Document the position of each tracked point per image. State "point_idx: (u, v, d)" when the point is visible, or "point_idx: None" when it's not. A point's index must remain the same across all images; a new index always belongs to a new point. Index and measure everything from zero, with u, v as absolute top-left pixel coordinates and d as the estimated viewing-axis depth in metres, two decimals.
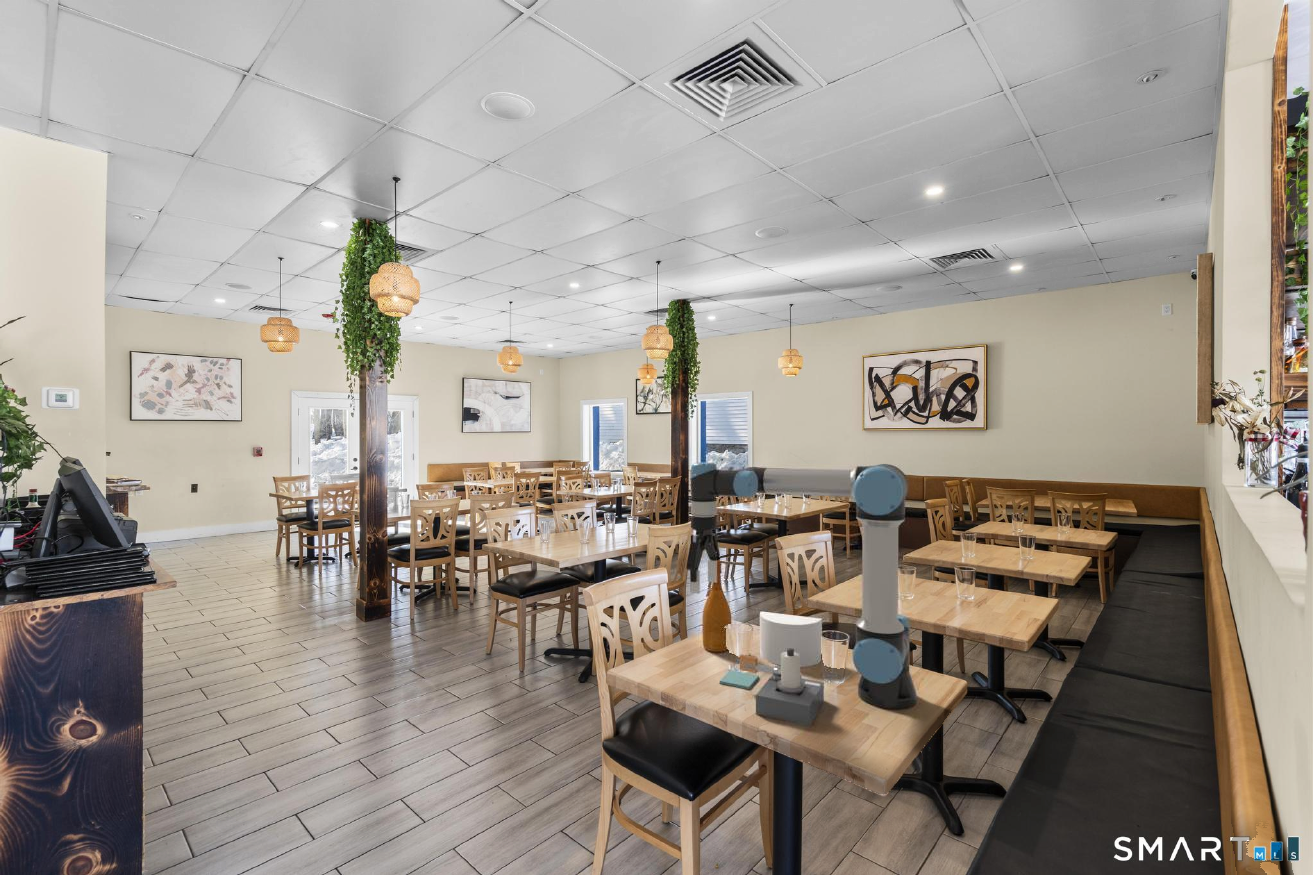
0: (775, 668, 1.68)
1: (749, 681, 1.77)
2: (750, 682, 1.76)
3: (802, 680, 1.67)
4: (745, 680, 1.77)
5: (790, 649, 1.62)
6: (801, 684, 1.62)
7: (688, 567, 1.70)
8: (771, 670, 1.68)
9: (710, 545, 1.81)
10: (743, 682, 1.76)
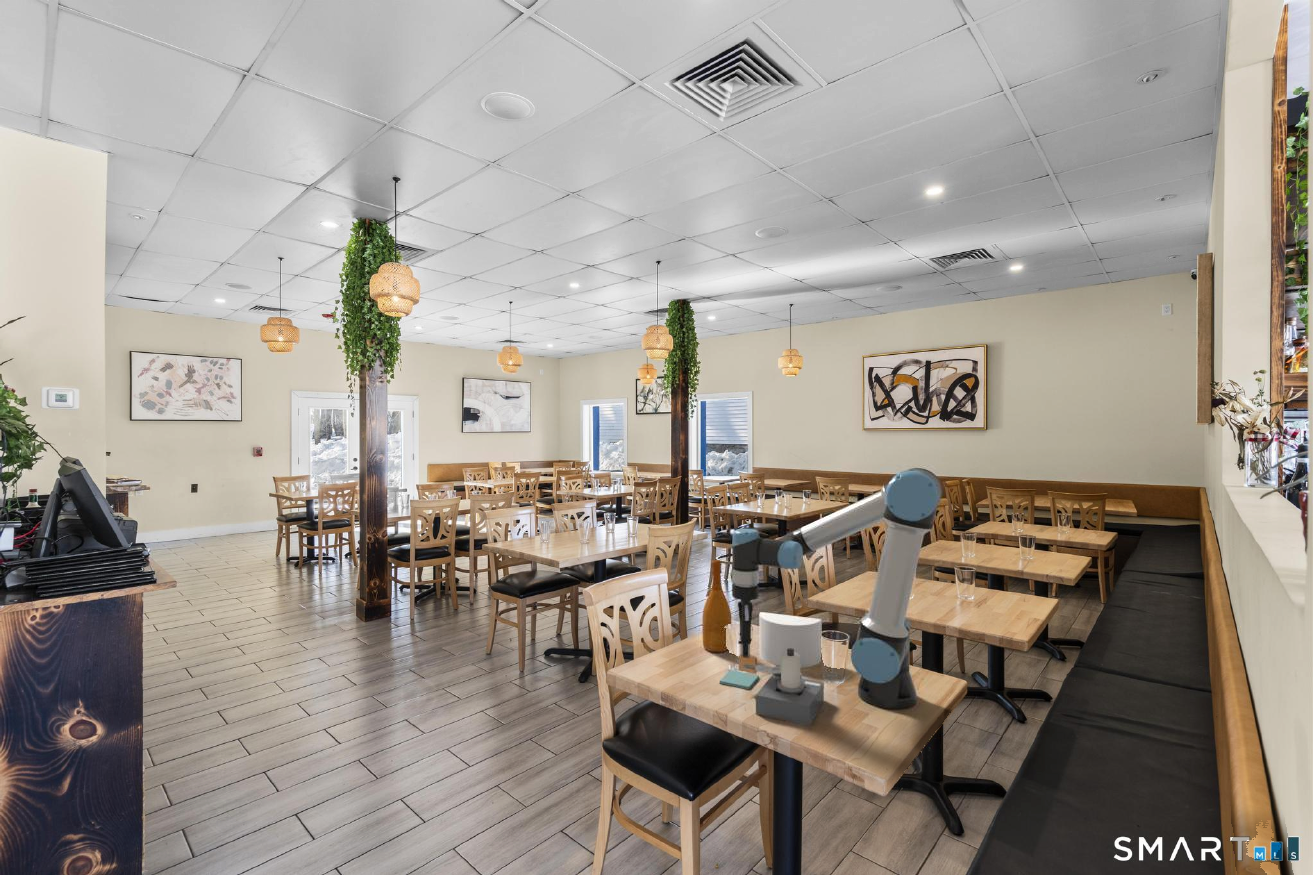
0: (775, 668, 1.68)
1: (749, 681, 1.77)
2: (750, 682, 1.76)
3: (802, 680, 1.67)
4: (745, 680, 1.77)
5: (790, 649, 1.62)
6: (801, 684, 1.62)
7: (744, 642, 1.71)
8: (771, 670, 1.68)
9: None
10: (743, 682, 1.76)
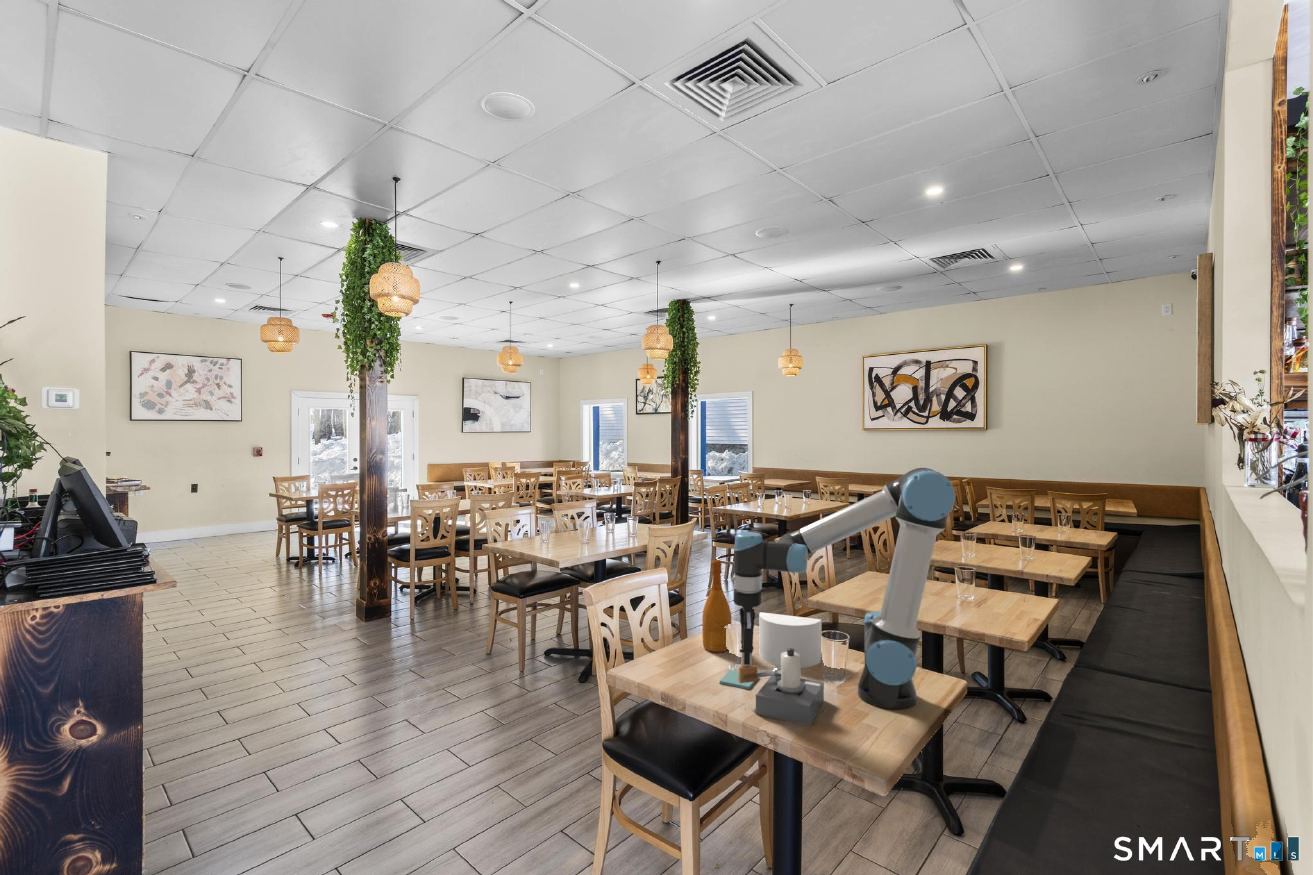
0: (777, 669, 1.67)
1: None
2: (750, 682, 1.76)
3: (802, 680, 1.67)
4: None
5: (790, 649, 1.62)
6: (801, 684, 1.62)
7: (745, 651, 1.63)
8: (773, 672, 1.67)
9: None
10: None
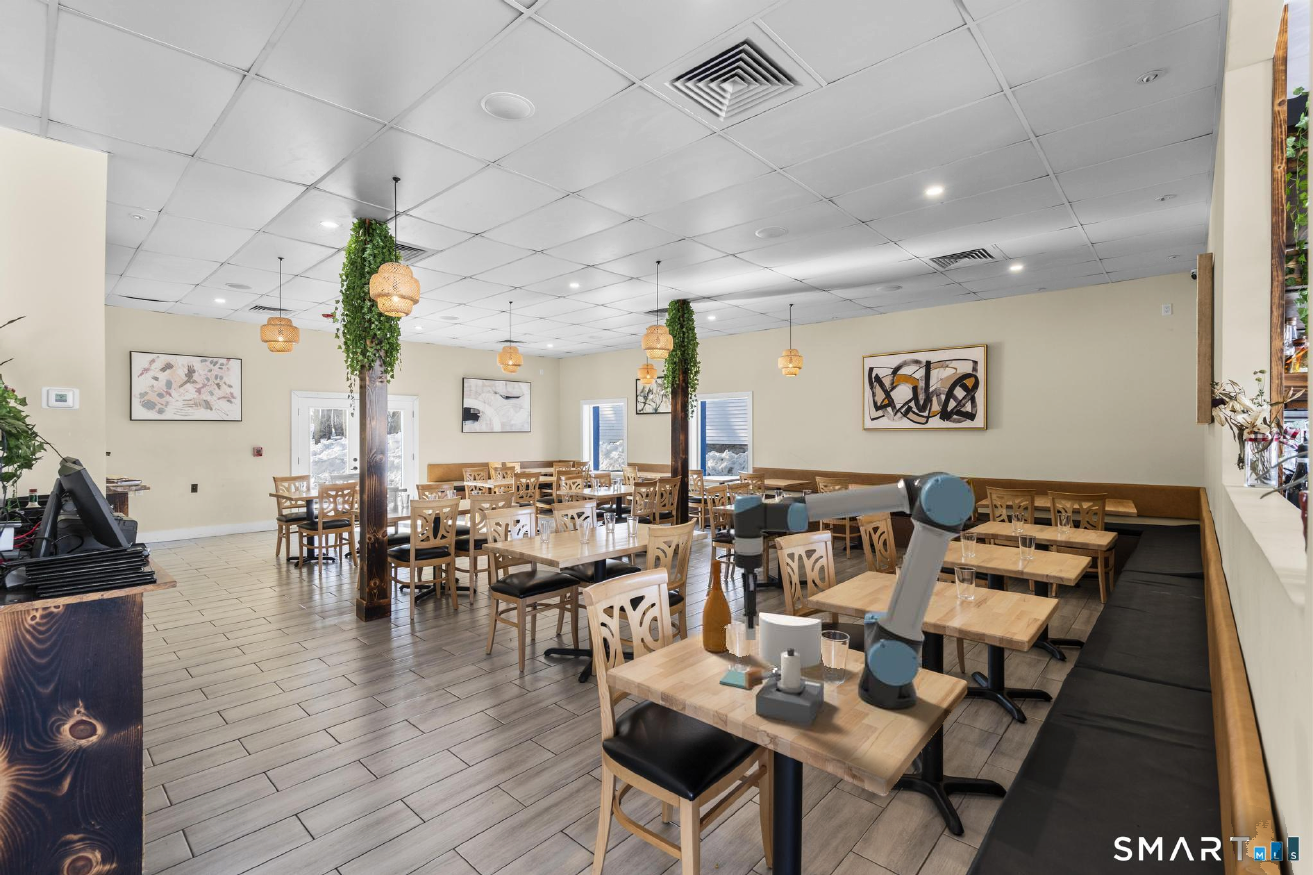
0: (778, 669, 1.67)
1: None
2: None
3: (802, 680, 1.67)
4: None
5: (790, 649, 1.62)
6: (801, 684, 1.62)
7: (749, 614, 1.61)
8: (775, 673, 1.66)
9: None
10: (743, 682, 1.76)
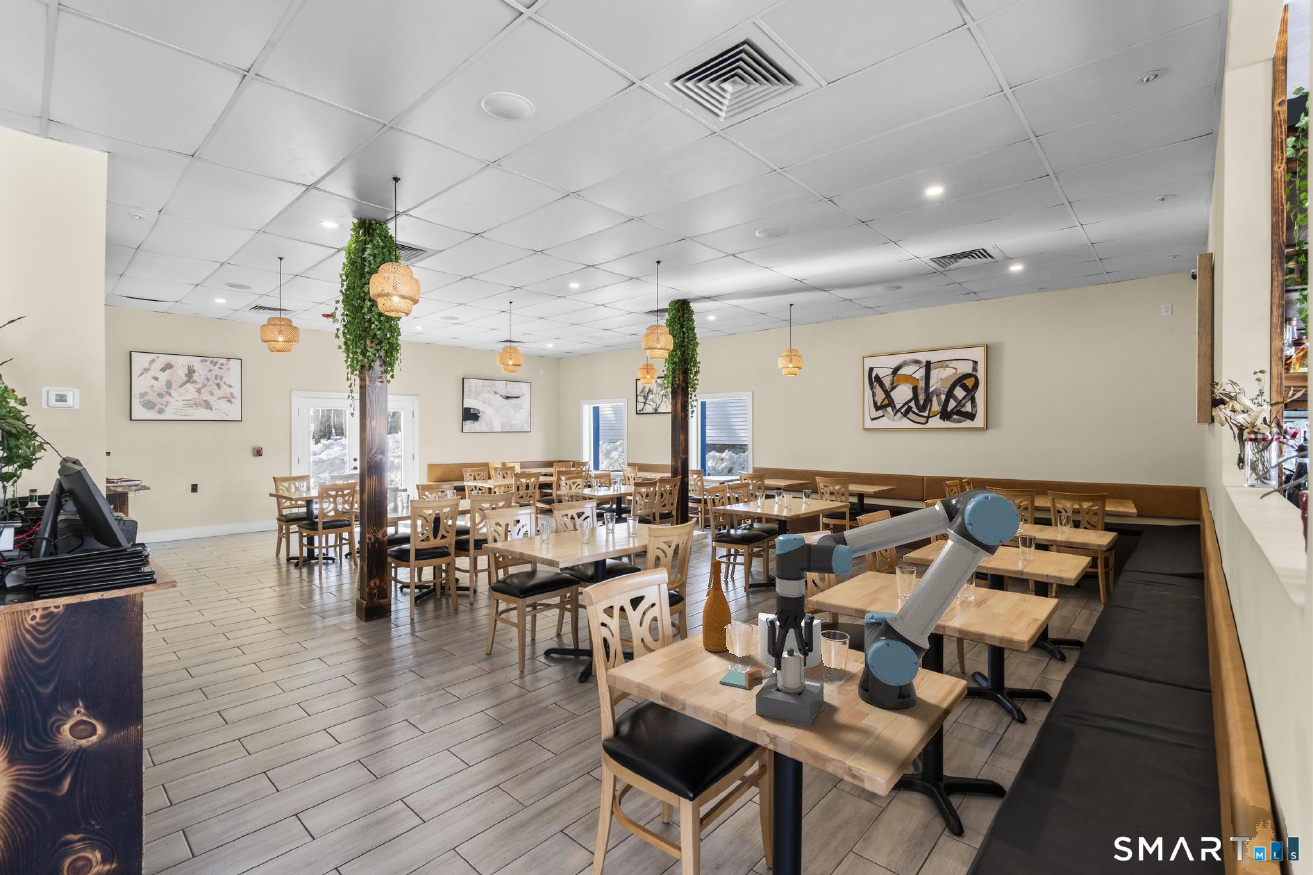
0: None
1: None
2: None
3: None
4: None
5: (790, 649, 1.62)
6: (801, 684, 1.62)
7: (769, 652, 1.61)
8: (775, 673, 1.66)
9: (797, 630, 1.61)
10: (743, 682, 1.76)
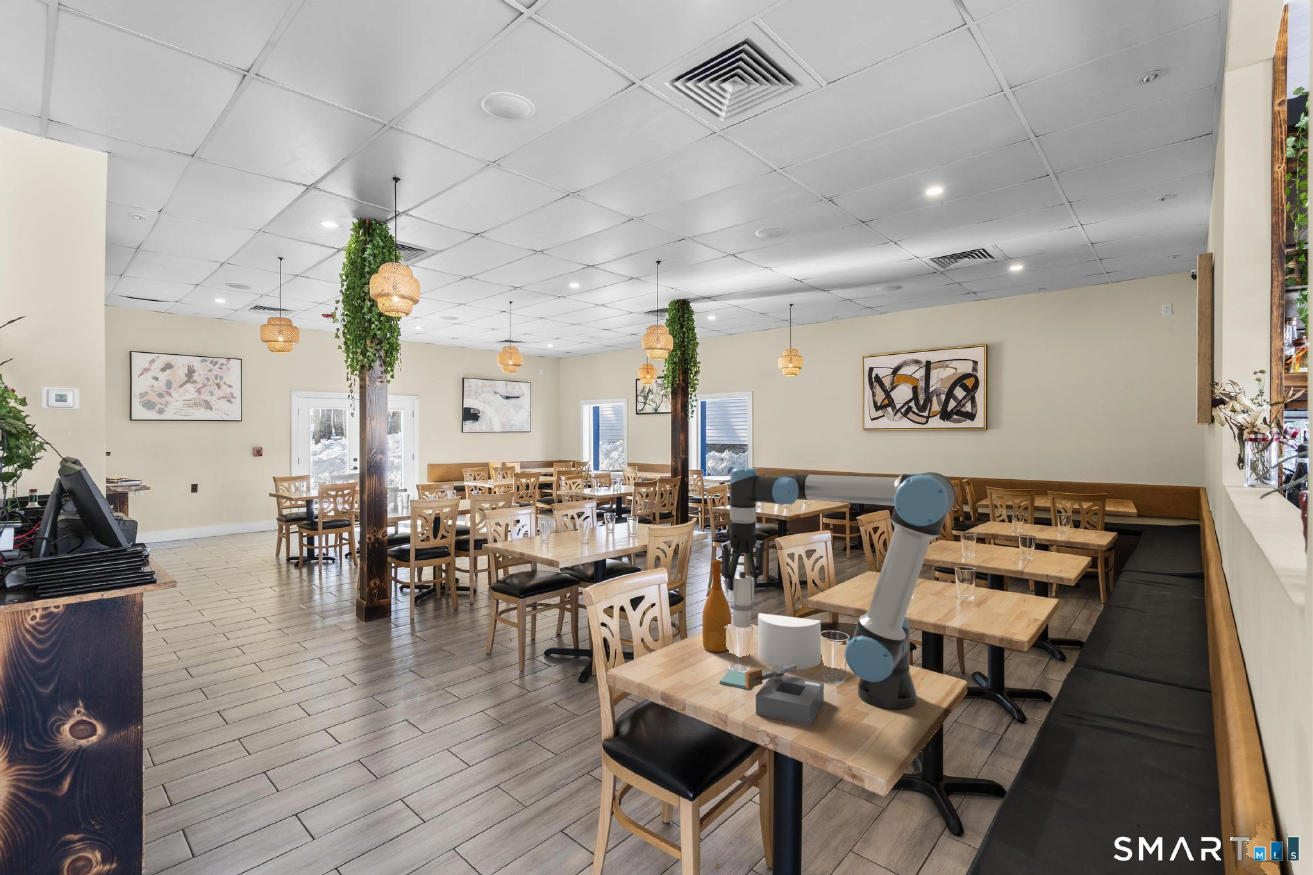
0: (778, 669, 1.67)
1: None
2: None
3: (802, 680, 1.67)
4: None
5: (742, 572, 1.77)
6: (752, 604, 1.77)
7: (722, 574, 1.76)
8: (775, 673, 1.66)
9: (748, 554, 1.77)
10: (743, 682, 1.76)
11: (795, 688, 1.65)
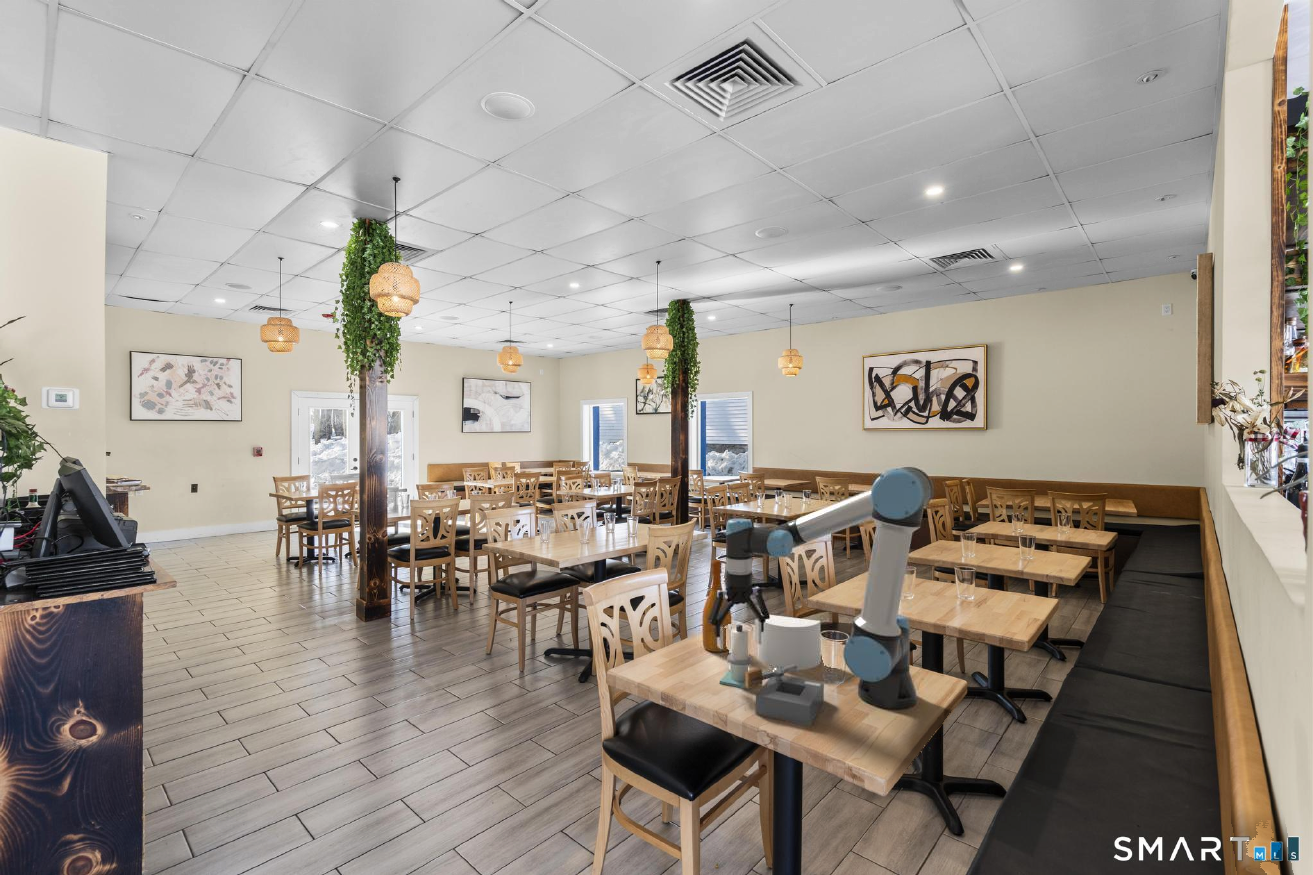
0: (778, 669, 1.67)
1: None
2: None
3: (802, 680, 1.67)
4: None
5: (739, 625, 1.79)
6: (749, 657, 1.79)
7: (709, 621, 1.77)
8: (775, 673, 1.66)
9: (749, 603, 1.79)
10: (743, 682, 1.76)
11: (795, 688, 1.65)
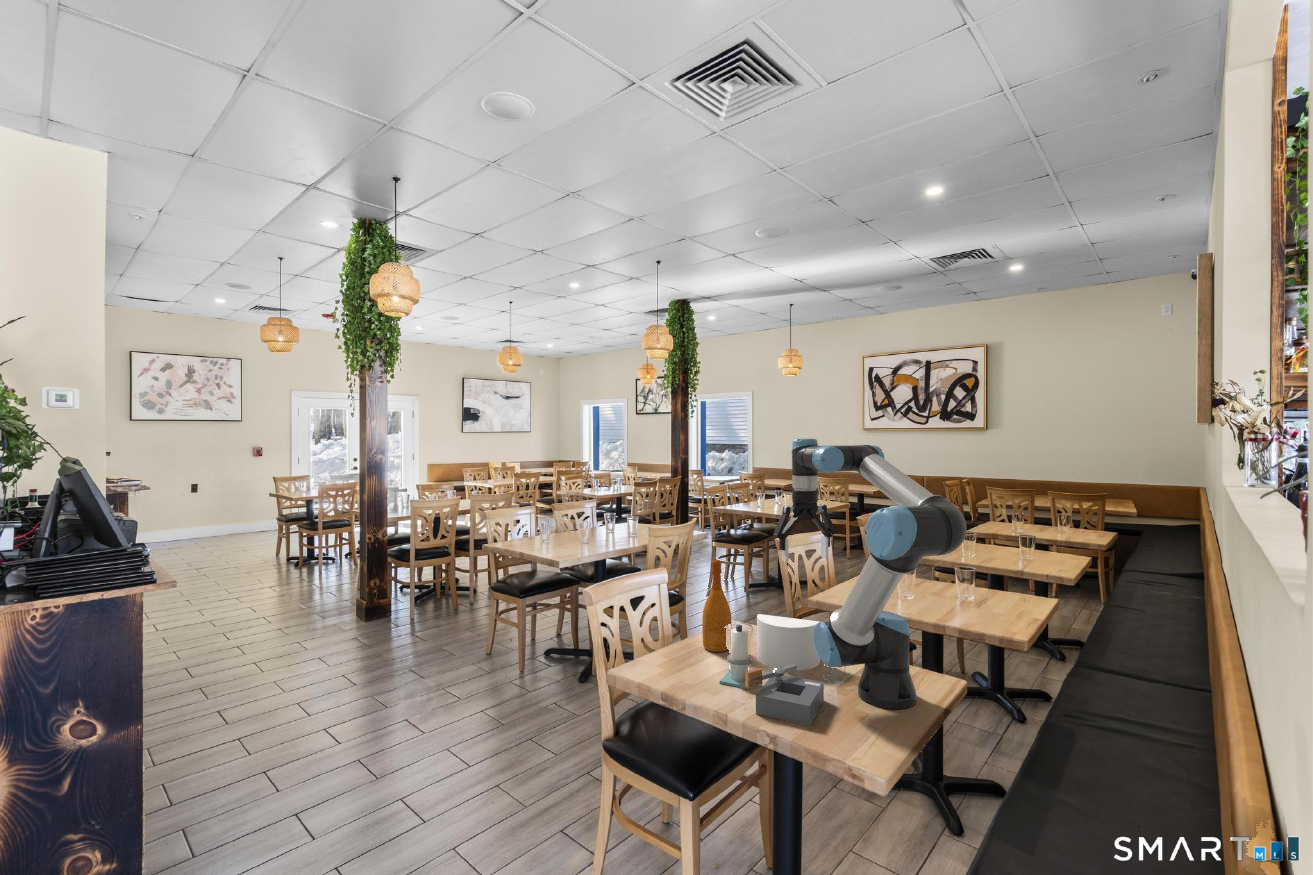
0: (778, 669, 1.67)
1: None
2: None
3: (802, 680, 1.67)
4: None
5: (739, 625, 1.79)
6: (749, 657, 1.79)
7: (774, 535, 1.81)
8: (775, 673, 1.66)
9: (815, 520, 1.84)
10: (743, 682, 1.76)
11: (795, 688, 1.65)
